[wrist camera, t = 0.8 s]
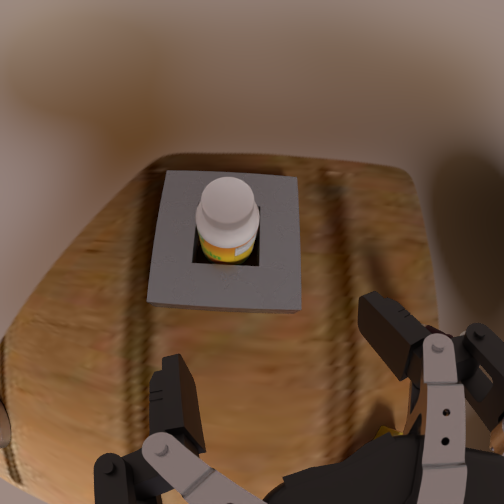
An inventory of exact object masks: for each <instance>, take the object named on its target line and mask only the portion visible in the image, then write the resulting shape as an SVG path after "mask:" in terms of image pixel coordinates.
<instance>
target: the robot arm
mask: <svg viewBox="0 0 504 504" xmlns="http://www.w3.org/2000/svg"><path fill="white" fill-rule="evenodd" d="M358 327H359V330H360V332H361V334H362V335H363V336H364V338H365V339H366V340H367V341H368V342H369V344H370V345H371V346H372V347H373V349H374V350H375V351H376V352H377V353H378V355H379V356H380V357H381V358H382V360H383V361H384V362H385V363H386V365H387V366H388V367H389V368H390V370H391V371H392V372H393V373H394V375H395V376H396V377H397V378H398V380H399V381H402V380H404V379H405V378H407V377H409V379H410V380H411V382H410V389H409V403H408V414H407V421H406V424H405V427H404V431H403V435H397V436H392V435H391V433H390V432H387V433H386V434H384V435H382V436H380V437H378V438H376V439H374V440H372V441H370V442H368V443H366V444H365V445H364V446H362V447H361V448H360V449H359V450H357V451H356V452H355V453H354V454H352V455H351V456H350V457H348V458H347V459H346V460H344V461H343V462H340V463H335V464H330V465H324V466H318V467H311V468H308V469H305V470H302V471H300V472H297V473H294V474H291V475H287V476H284V477H283V480H284V482H283V483H282V484H280V485H278V486H277V487H275V488H274V489H273V490H272V491H270V492H269V493H268V494H267V495H266V496H265V498H264V499H263V500H261V499H259V498H257V497H256V496H254V495H252V494H251V493H249V492H248V491H246V490H245V489H243V488H241V487H240V486H238V485H237V484H235V483H234V482H232V481H231V480H230V479H228V478H227V477H225V476H224V475H222V474H221V473H220V472H218V471H217V470H215V469H213V468H211V467H210V466H208V465H207V464H206V463H205V462H203V461H202V460H201V459H199V454H200V453H205V452H206V448H205V443H204V437H203V431H202V425H201V419H200V412H199V406H198V399H197V392H196V386H195V382H194V379H193V377H192V375H191V373H190V371H189V369H188V367H187V366H186V364H185V362H184V360H183V358H182V356H181V355H180V354H175V355H171V356H167V357H163V358H162V370H161V371H156V372H154V374H153V376H152V378H151V380H150V394H149V401H150V403H149V422H150V434H149V437H148V438H147V439H146V440H145V441H144V443H143V446H142V448H141V449H139V450H137V451H135V452H133V453H130V454H128V455H126V456H123V457H120V456H119V455H117V454H114V453H106V454H103V455H102V456H100V457H99V458H98V459H97V461H96V462H95V465H94V495H95V504H162V498H161V494H163V493H165V492H168V491H170V490H172V489H176V490H177V491H178V492H179V493H180V494H181V495H182V497H183V498H184V499H185V500H186V501H187V502H188V503H189V504H504V342H503V341H502V340H501V339H500V338H499V337H498V336H497V335H496V334H495V333H494V332H492V331H491V330H490V329H489V328H488V327H487V326H486V325H484V324H481V323H473V324H471V325H469V326H468V328H467V329H466V332H465V335H461V336H458V337H454V338H449V337H447V336H446V335H443V334H438V333H436V334H432V333H430V332H429V331H428V330H427V329H426V328H425V327H424V326H423V325H422V324H421V323H420V322H419V321H418V320H417V319H416V318H415V317H414V316H412V315H410V313H409V312H408V311H407V310H405V308H404V307H403V306H402V305H400V304H399V303H398V302H397V301H395V300H392V299H390V298H388V297H387V298H385V299H384V298H383V297H382V296H381V295H380V294H379V293H378V292H376V291H373V292H370V293H368V294H365V295H363V296H361V297H360V298H359V305H358ZM479 365H481V366H482V367H483V368H484V369H485V370H486V372H487V373H488V374H489V375H490V376H491V377H492V380H493V383H492V382H491V381H490V380H489V379H488V378H487V376H486V375H485V374H484V373H483V372H482V371H481V369H480V368H479ZM465 398H466V400H467V401H468V402H469V404H470V405H471V406H472V408H473V409H474V410H475V412H476V413H477V414H478V416H479V417H480V418H481V420H482V421H483V423H484V424H485V425H486V426H487V428H488V430H489V431H490V432H491V436H490V439H491V442H490V445H489V446H490V449H491V450H493V451H494V453H492V452H486V451H481V450H476V449H471V448H466V447H465ZM10 438H11V429H10V424H9V420H8V417H7V414H6V411H5V409H4V407H3V405H2V403H1V401H0V448H4V447H6V446H7V445H8V444H9V442H10Z"/></svg>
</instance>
